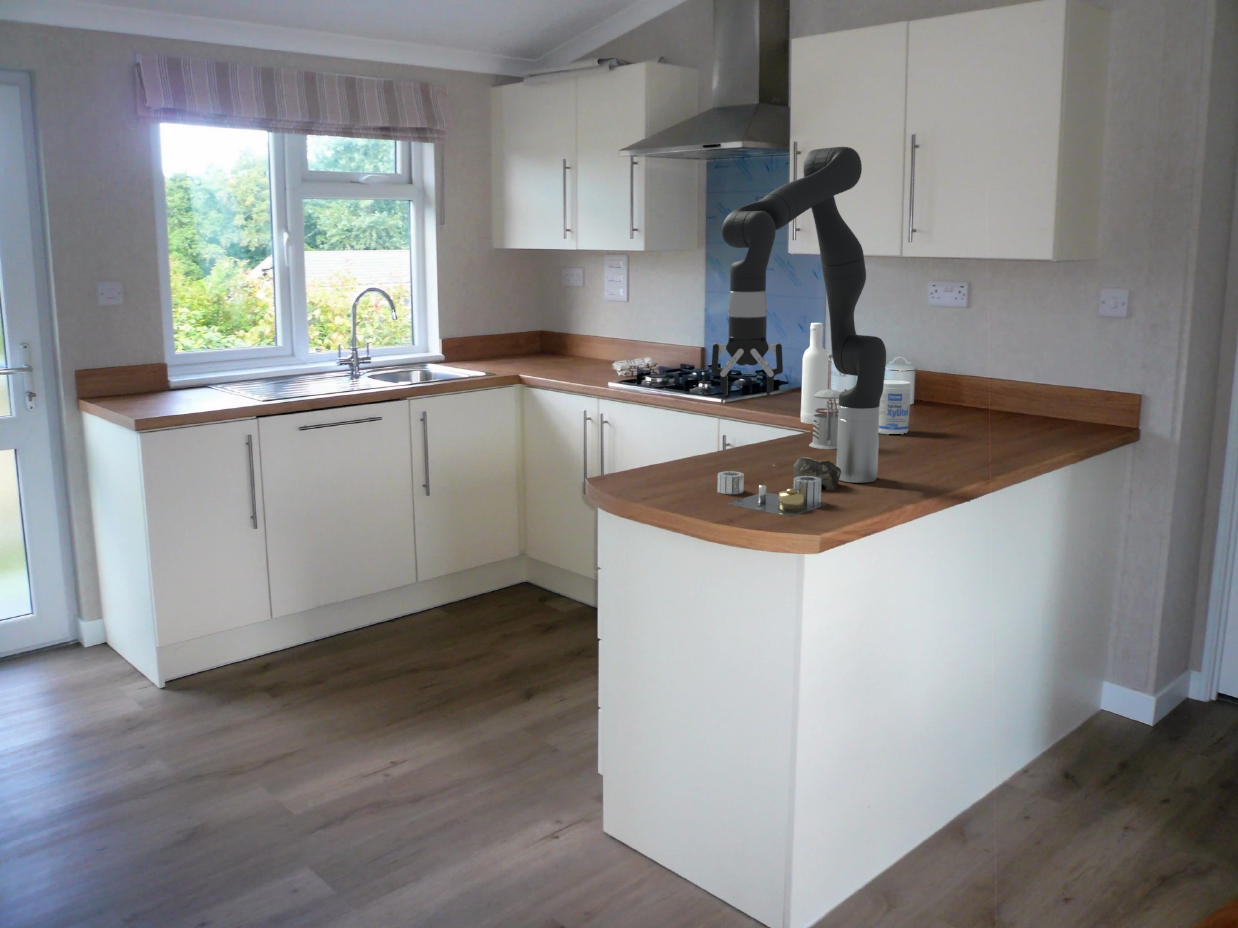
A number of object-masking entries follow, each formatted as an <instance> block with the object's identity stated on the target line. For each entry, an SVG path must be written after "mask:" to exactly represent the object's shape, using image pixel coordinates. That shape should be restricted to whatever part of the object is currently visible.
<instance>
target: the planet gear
mask: <svg viewBox="0 0 1238 928" xmlns="http://www.w3.org/2000/svg"><path fill="white" fill-rule="evenodd" d="M744 476H745V475H744V473H743V472H740V471H728V470H726V471H720V472H717V488H716V489H717V491H716V492H717V493H719V494H722V495H739V494H743V493H744V482H745V481H744V478H745V477H744Z"/></svg>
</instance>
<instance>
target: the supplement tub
mask: <svg viewBox="0 0 1238 928" xmlns="http://www.w3.org/2000/svg"><path fill="white" fill-rule="evenodd" d="M911 385H912V384H911V382H910V381H906V380H898V379H897V380H895V379H894V380H893V379H884V387H883V393H882V396H881V399H880V408H879V432H878V434H880V435H881V434H882V435H889V434H901V435H905V434H907V433H908V431H909V421H910V410H911V409H910V407H911V391H912V390H911V388H912V387H911ZM904 433H905V434H904Z"/></svg>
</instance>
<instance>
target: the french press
mask: <svg viewBox="0 0 1238 928" xmlns="http://www.w3.org/2000/svg"><path fill="white" fill-rule="evenodd" d="M827 354H828V355H827V358H829V375H828V385H829V386H828V389H827V390H822V391H819V392H817V393H816V394H814V397H815V398H820V399H827V400H828V402H827V408H818V409H816V410H815V411H816V412H818V413H823V414H816V415H814V418H813V420H814V423H813V424H812V426H813V427H812V430H813V432H812V435H813V436H812V442H810V444H809V445H808V446H809V447H811V448H814V449H821V450H837V435H838V408H835V402H832V406H830V404H829V402H830V400H837V399H838V400H839V395H840V393H841V392H842V391H839V390H836V389H832V388H831V374H832V373H831V371H832V370H831V369H832V359H833V357H832V352H829V353H827ZM815 422H818V423H819V424H816V423H815Z"/></svg>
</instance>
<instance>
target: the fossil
mask: <svg viewBox="0 0 1238 928" xmlns="http://www.w3.org/2000/svg"><path fill="white" fill-rule="evenodd" d="M840 475H841V469H840V468H839V467H837V466H836V464H834V462H832V461H830V460H828V459H825V460H816V459H814V458H811V457H807V456H801V457H800V458H798V459H797V460H796V461H795V463H794V464H793V466H792V477H793V479H792V489H793V488H794V478H795V477H799V476H814V477H818V478H821V486H823V487H824V488H825V489H824V490H825V491H834V490H837V488H838V484H839V481H840V480H839V478H840Z"/></svg>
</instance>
